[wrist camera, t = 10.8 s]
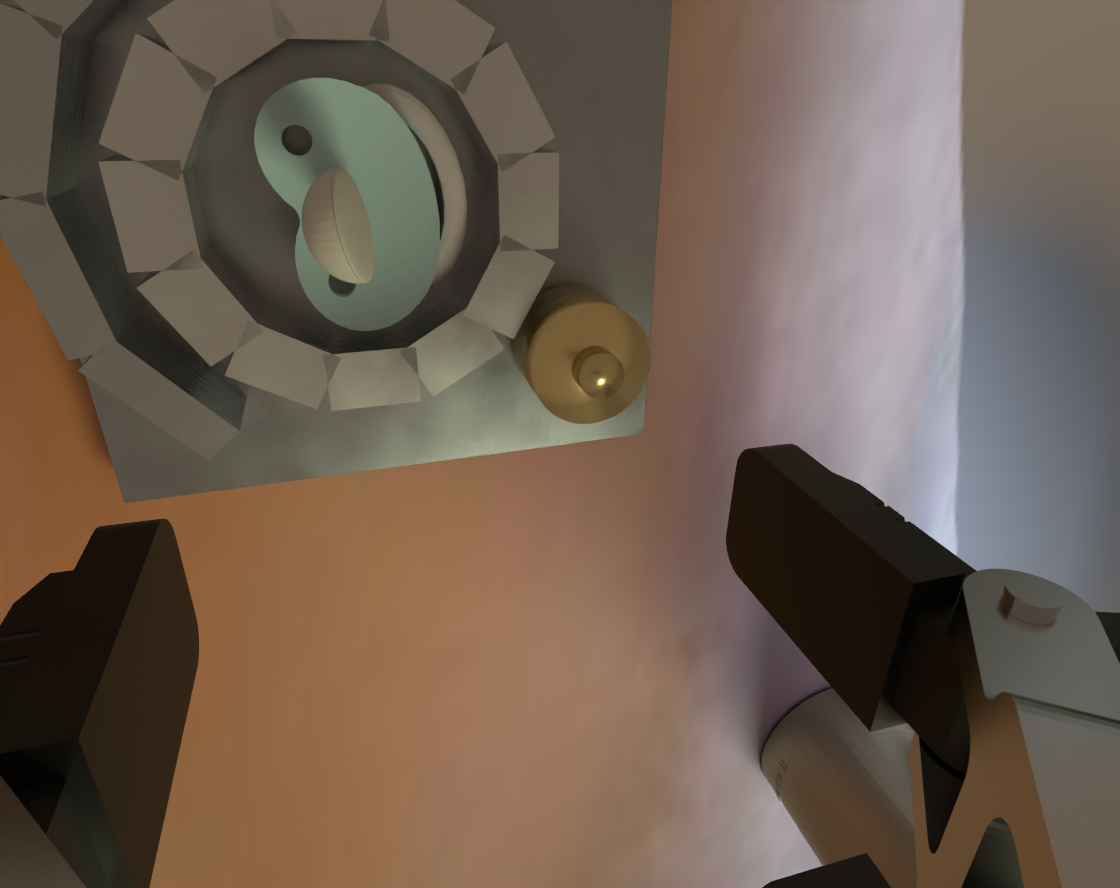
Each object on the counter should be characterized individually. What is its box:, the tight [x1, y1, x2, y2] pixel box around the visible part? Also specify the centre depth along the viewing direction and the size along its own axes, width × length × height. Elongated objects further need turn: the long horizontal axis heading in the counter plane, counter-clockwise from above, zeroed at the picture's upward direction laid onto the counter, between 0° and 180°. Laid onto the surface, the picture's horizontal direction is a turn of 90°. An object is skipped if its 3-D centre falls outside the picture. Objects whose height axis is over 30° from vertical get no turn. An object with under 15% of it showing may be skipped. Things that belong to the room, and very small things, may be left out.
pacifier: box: [254, 78, 467, 331], centre depth 21 cm, size 7×6×6 cm
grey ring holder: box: [0, 0, 672, 503], centre depth 23 cm, size 20×18×6 cm
